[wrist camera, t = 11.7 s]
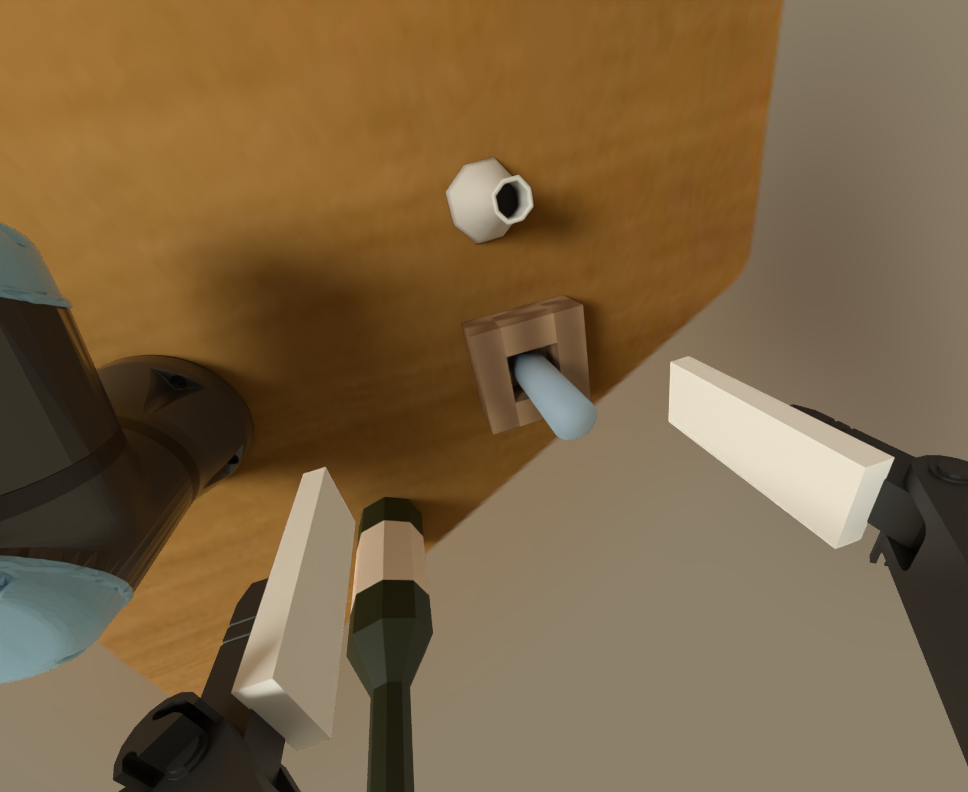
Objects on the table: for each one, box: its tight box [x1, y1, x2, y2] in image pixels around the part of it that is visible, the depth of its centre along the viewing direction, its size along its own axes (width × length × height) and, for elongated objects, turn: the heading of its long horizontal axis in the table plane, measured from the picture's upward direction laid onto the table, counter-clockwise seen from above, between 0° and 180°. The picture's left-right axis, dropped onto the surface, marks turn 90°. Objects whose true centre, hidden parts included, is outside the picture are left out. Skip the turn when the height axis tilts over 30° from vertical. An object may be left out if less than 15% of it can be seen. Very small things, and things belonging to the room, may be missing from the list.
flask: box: [446, 157, 534, 244], centre depth 32 cm, size 7×7×10 cm
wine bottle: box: [347, 497, 433, 792], centre depth 38 cm, size 8×8×30 cm
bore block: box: [461, 295, 591, 435], centre depth 42 cm, size 12×12×5 cm
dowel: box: [508, 349, 597, 440], centre depth 38 cm, size 4×4×14 cm
